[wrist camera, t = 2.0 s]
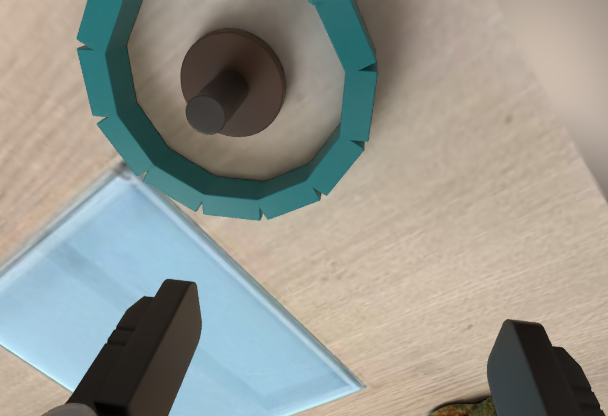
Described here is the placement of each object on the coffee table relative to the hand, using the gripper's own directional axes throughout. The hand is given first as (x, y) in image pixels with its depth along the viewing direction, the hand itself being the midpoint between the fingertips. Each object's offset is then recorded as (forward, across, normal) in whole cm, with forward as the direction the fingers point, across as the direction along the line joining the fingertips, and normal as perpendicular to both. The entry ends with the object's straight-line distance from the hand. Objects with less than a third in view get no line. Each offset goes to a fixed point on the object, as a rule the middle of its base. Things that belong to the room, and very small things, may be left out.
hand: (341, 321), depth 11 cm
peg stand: (+16, +7, -1) cm, 18 cm away
